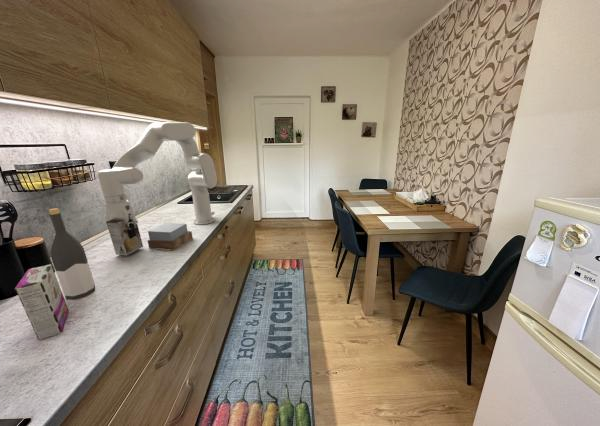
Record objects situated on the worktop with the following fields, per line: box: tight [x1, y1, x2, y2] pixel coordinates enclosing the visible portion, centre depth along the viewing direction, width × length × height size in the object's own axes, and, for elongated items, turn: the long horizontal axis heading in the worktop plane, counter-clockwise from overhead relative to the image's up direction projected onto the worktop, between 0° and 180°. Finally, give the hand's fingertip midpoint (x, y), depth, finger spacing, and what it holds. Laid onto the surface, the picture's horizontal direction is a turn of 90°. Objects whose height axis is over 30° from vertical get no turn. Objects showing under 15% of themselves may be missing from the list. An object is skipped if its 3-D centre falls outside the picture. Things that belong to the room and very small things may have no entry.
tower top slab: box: [147, 222, 189, 241], centre depth 120 cm, size 12×12×4 cm
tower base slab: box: [146, 230, 194, 251], centre depth 121 cm, size 14×14×4 cm
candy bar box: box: [14, 263, 70, 341], centre depth 66 cm, size 11×5×16 cm, turn 35°
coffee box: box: [105, 217, 144, 256], centre depth 110 cm, size 9×6×16 cm
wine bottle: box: [48, 207, 96, 301], centre depth 78 cm, size 8×8×30 cm
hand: (126, 236), depth 110 cm, fingers closed on coffee box, 6 cm apart
